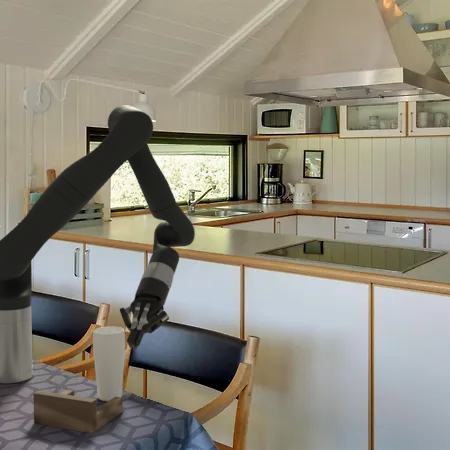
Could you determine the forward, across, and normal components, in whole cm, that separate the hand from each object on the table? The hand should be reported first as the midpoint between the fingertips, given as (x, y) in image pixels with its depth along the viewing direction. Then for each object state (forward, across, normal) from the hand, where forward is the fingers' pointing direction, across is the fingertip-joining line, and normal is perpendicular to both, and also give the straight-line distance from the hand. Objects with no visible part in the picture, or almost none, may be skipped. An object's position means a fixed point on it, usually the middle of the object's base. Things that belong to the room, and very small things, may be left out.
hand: (132, 346), depth 141 cm
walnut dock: (+21, 0, -8) cm, 22 cm away
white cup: (+13, 0, 0) cm, 13 cm away
